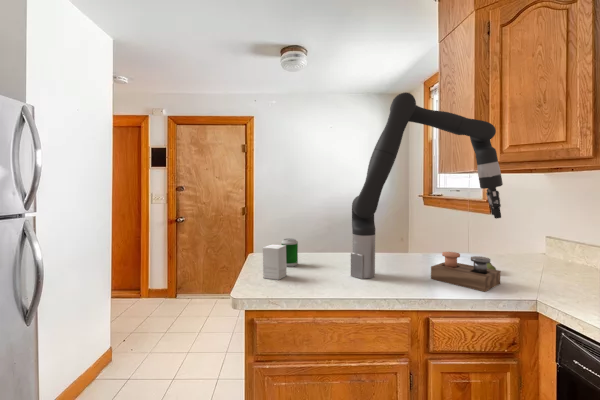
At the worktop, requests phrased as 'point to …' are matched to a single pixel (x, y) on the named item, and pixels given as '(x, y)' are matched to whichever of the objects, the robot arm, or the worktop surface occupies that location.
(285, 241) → the soda can
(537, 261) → the worktop surface
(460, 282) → the brown wooden block
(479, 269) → the grey knob
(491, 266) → the pear
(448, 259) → the tan round knob
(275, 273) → the supplement box
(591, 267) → the worktop surface
